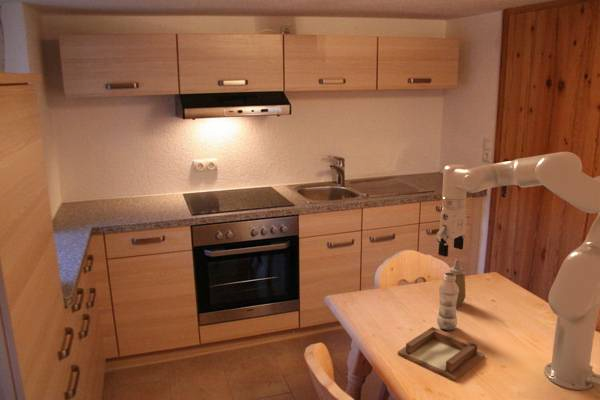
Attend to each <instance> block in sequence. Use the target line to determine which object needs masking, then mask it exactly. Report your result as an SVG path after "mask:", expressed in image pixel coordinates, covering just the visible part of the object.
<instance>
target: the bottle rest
mask: <svg viewBox="0 0 600 400" xmlns="http://www.w3.org/2000/svg"><path fill="white" fill-rule="evenodd" d="M397 355H398V356H400V357H402V358H405V359H407V360H408V361H411V362H413V363H415V364H418V365H419V366H422V367H424V368H426V369H428V370H431V371H432V372H434V373H437V374H439V375H441V376H443V377H445V378H448V379H449V380H452V381H453V382H456V381H458V380H459V379H460V378H461V377H462V376H463V375H464V374H466V373H467V372H468V371H469V370H470V369H472V368H473V367H475V366H476V365H477V364H478V363H479V362H481V361H482V360H483V359H484V358H486V354H485V353H483V352H481V351H478V344H476V343H474V342H471V341H468V340H466V339H463V338H461V337H459V336H456V335H453V334H450V333H448V332H446V331H445V330H441V329H438V328H435V327H433V326H432V327H430V328H429V329H427V330H426V331H424V332H422V333H421V334H419V335H417V336H415V337H414V338H413V339H411V340H410V341H408V342H406V344H405V346H404V347H402V348H401V349H399V350H398V351H397Z"/></svg>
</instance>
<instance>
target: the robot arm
mask: <svg viewBox="0 0 600 400" xmlns="http://www.w3.org/2000/svg"><path fill="white" fill-rule="evenodd" d="M582 170H583V163H582V160H581V158H580V157H579V156H578V155H577V154H575V153H574V152H570V151H560V152H559V151H558V152H553V153H547V154H541V155H535V156H528V157H523V158H522V157H521V158H515V159H514V160H509V161H501V162H496V163H490V164H484V165H480V166H475V167H471V168H468V167H467V166H466V165H463V164H456V163H454V164H448V165H445V166H444V168H443V175H442V177H443V178H442V192H441V193H442V195H441V207H442V208H441V212H440V219H439V230H438V231H437V232H436V239H437V240H436V241H437V244H438V256H442V257H445V258H447V257H448V256H449V244H448V243H449V241H450V239H451V240H453V248H454V249H457V250H463V249H464V241H465V240H464V238H465V234H466V233H467V226H468V225H467V224H468V223H467V221H468V220H467V208H466V207H467V206H466V204H467V193H471V194H472V193H475V194H476V193H478V192H482V191H484V190H488V189H492V188H498V187H504V186H507V187H508V186H518V187H520V188H530V187H538V186H544V187H545V188H546V189H548V190H549V191H551V192H552V193H553V194H555V195H556V196H558V197H559V198H561V199H562V200H563V201H565V202H567V203H569V204H570V205H572V206H573V207H575V208H576V209H577V210H580V211H581V212H584V213H588V214H597V216H596V217H595V219H594V221H593V222H592V224H591V227H590V228H589V230H588V232H587V236H586V237H585V239H584V241H583V243H581V245H580V246H578V247H576V249H574V250H572V251H570V252H569V254H568V255H567V256H566V257H565V259H564V260H563V261H562V264H561V266H560V268H559V270H558V273H557V274H556V276H555V279H554V280H553V281H554V282H553V283H552V286H551V288H550V290H549V293H548V297H547V298H548V301H547V302H548V305H549V308H550V309H551V311H552V313H554V315H556V316H557V318H556V325H555V332H554V340H553V347H552V348H553V349H552V355H551V356H552V357H551V362H549V363H548V364H546V365H545V366H544V370H543V371H544V375H545V376H546V378H547V379H548V380H549V381H551V382H552V383H554V384H556V385H558V386H560V387H562V388H564V389H565V388H566V389H569V390H573V391H576V390H577V391H584V390H589V389H591V388H592V387H593V386H594V385H596V386H598V387H600V374H597V373H595V372H594V371H593V368H594V367H593V365H590V364H591V359H592V353H593V352H592V351H593V344H594V340H595V339H594V338H595V332H596V328H597V327H596V325H597V320H598V316H599V312H600V311H599V310H600V175H597V176H594V177H592V176H590V175H588V174H586V173H584V172H583V171H582Z"/></svg>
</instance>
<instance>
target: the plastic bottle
mask: <svg viewBox="0 0 600 400" xmlns="http://www.w3.org/2000/svg"><path fill="white" fill-rule="evenodd" d="M455 280H456V275H455V274H454V273H449V272H445V273H444V274H443V281H442V282H441V283H440V285H439V286H438V293H439V310H438V315H437V319H436V321H437V325H438V327H439V328H440V330H441V329H442V330H443V331H452V330H455V328H457V325H458V318H457V307H456V304H457V298H458V293H459V288H458V286H457V284H456V283H455Z"/></svg>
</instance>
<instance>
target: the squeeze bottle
mask: <svg viewBox="0 0 600 400" xmlns="http://www.w3.org/2000/svg"><path fill="white" fill-rule="evenodd" d="M463 272H464V271H463V268H462V267H461V265H460V261H459V258H458V259H456V258H455V260H454V263H453V265H452V266H451V267H450V268H449V272H448V273H454V274H455V275H456V280H455V283H456V284H457V286H458V288H459V293H458V298H457V304H456V308H457V307H461V306H462V305H463V304H464V301H465V299H466V296H467V295H466V277H465V276H466V275H464V274H463Z"/></svg>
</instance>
